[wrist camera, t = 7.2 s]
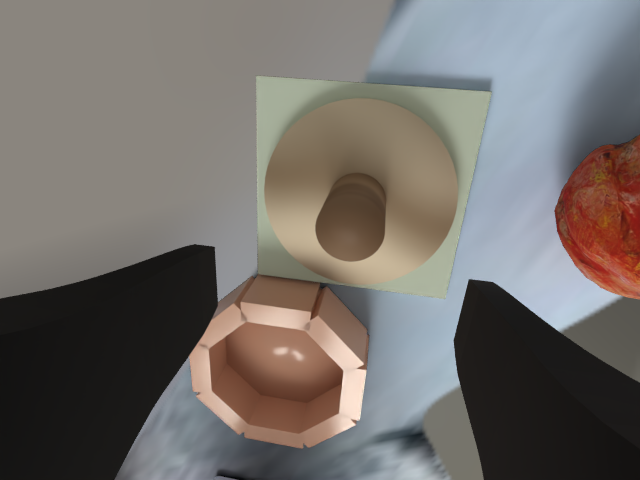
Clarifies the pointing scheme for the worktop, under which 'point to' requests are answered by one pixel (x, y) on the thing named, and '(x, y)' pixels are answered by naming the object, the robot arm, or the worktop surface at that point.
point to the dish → (282, 362)
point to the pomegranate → (604, 217)
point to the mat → (426, 102)
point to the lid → (361, 191)
